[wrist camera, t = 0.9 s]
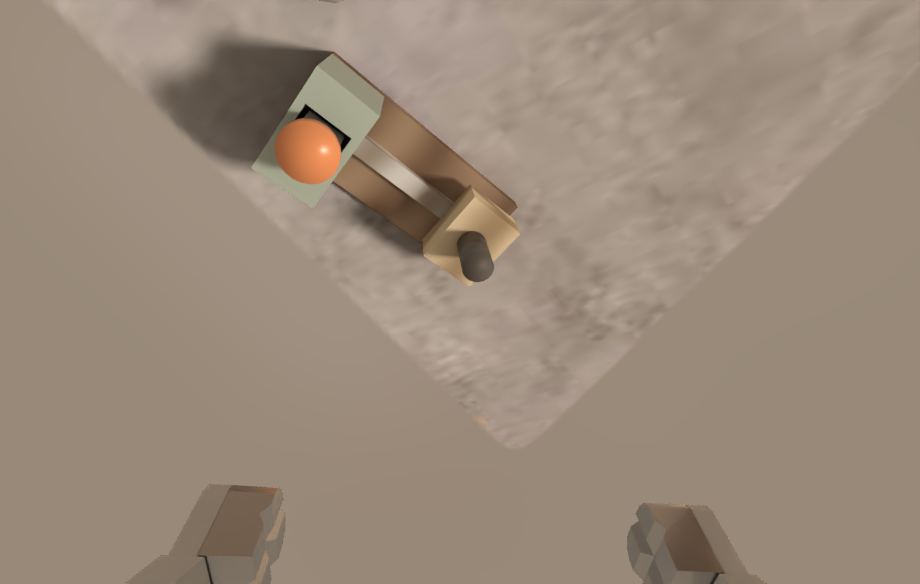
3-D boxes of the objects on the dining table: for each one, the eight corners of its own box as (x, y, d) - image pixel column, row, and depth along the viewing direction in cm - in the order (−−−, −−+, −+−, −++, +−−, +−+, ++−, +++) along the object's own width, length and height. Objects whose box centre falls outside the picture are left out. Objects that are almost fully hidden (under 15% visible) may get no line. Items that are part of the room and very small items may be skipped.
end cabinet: (275, 140, 37) (251, 167, 31) (332, 53, 35) (316, 65, 29) (326, 176, 39) (312, 208, 33) (384, 96, 36) (380, 116, 31)
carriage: (422, 239, 42) (424, 280, 36) (470, 184, 39) (481, 217, 33) (465, 270, 44) (474, 313, 38) (513, 218, 41) (531, 256, 36)
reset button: (280, 138, 33) (262, 158, 29) (310, 92, 31) (295, 107, 27) (328, 172, 34) (318, 196, 30) (358, 130, 33) (352, 149, 29)
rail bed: (279, 136, 38) (272, 144, 37) (334, 51, 36) (330, 55, 34) (458, 263, 46) (460, 275, 44) (515, 202, 43) (519, 211, 41)
